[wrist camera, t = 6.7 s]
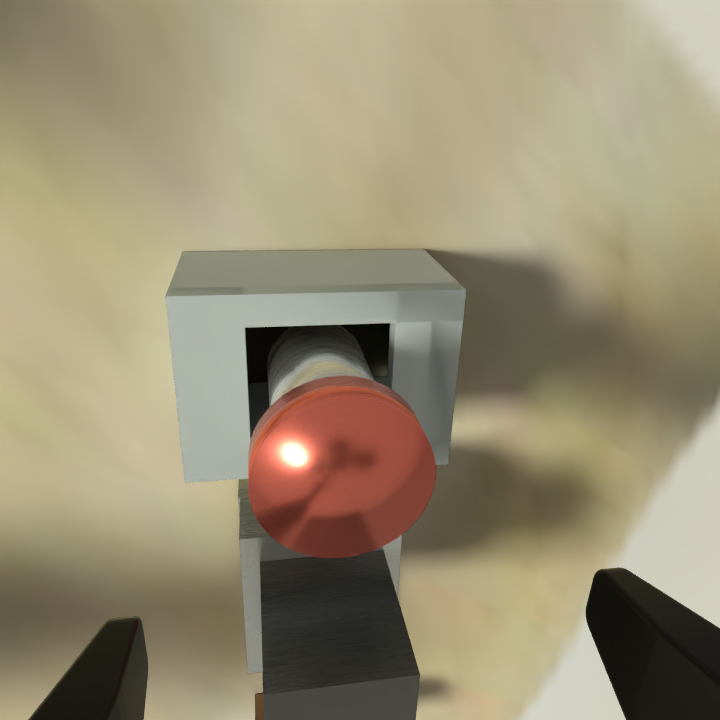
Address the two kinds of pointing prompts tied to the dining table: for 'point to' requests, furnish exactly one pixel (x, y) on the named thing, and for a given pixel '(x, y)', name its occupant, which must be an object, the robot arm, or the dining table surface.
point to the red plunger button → (335, 450)
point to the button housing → (304, 308)
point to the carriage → (325, 630)
